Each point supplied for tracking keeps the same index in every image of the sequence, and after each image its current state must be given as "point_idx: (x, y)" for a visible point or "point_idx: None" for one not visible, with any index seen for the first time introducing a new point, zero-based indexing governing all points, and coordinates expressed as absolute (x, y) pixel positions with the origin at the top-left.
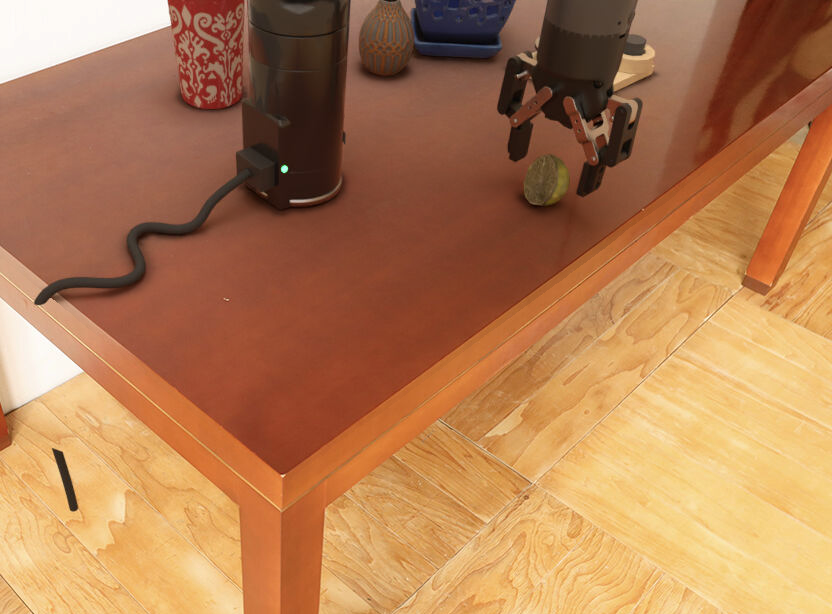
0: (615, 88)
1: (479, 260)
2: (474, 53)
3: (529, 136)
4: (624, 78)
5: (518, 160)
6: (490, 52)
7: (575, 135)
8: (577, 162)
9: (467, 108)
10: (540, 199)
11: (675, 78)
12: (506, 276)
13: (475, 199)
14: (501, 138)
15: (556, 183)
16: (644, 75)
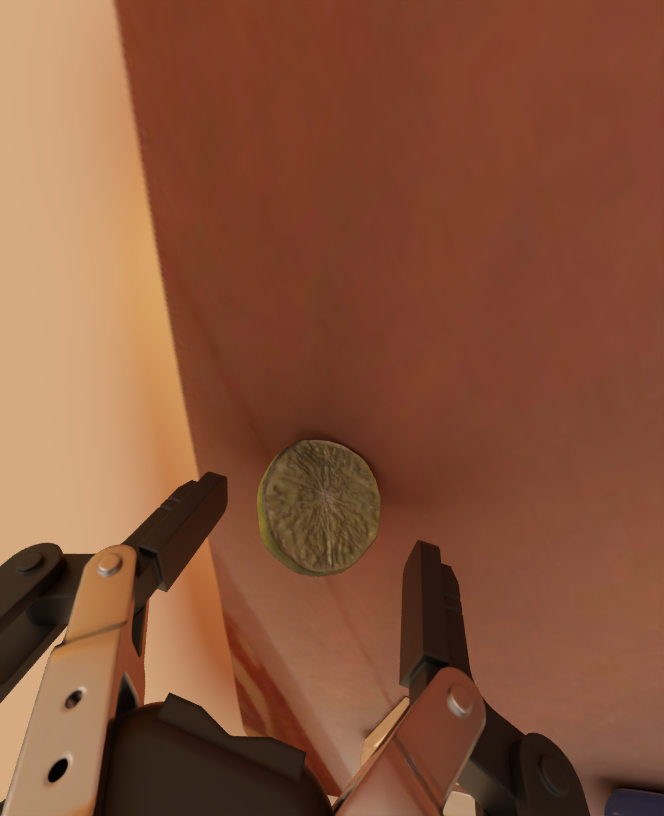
0: (385, 724)
1: (317, 75)
2: (659, 808)
3: (403, 630)
4: (380, 741)
5: (413, 548)
6: (624, 808)
7: (116, 664)
8: (344, 586)
9: (621, 684)
10: (314, 451)
11: (339, 732)
12: (207, 67)
13: (475, 398)
14: (505, 617)
15: (263, 486)
16: (368, 739)
